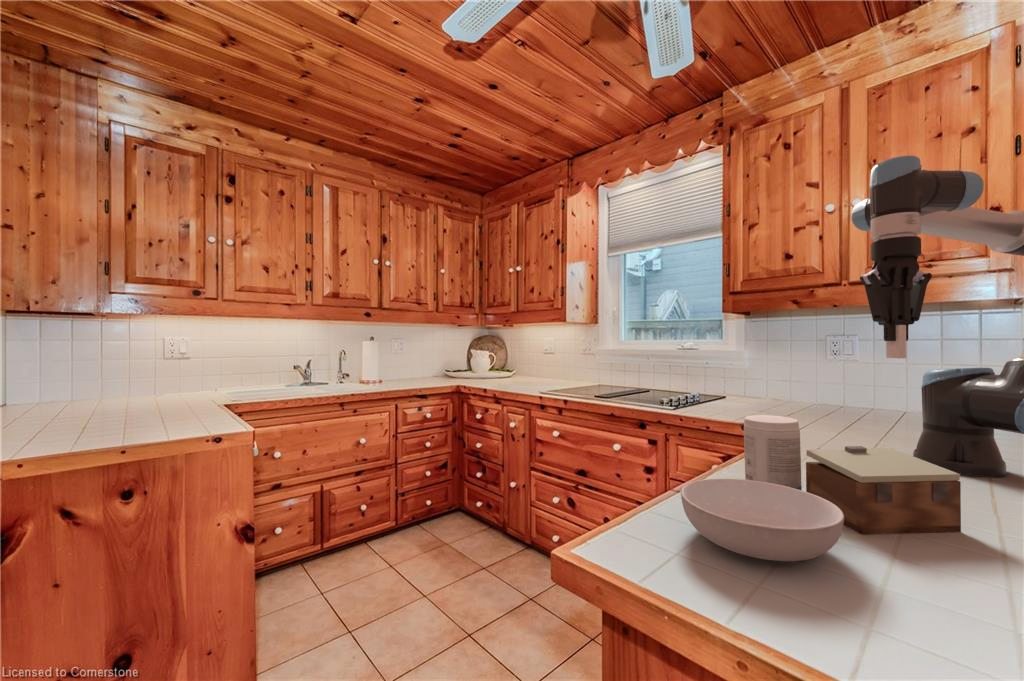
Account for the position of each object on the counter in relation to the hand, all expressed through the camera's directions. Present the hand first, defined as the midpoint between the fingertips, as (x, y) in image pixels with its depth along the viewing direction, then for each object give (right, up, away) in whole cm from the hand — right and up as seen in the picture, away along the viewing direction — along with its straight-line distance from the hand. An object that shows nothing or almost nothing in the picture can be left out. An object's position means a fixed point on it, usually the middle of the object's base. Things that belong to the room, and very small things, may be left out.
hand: (896, 357), depth 86 cm
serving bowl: (-40, -27, -22) cm, 53 cm away
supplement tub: (-25, -27, 0) cm, 37 cm away
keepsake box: (-14, -27, -13) cm, 33 cm away
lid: (-14, -18, -13) cm, 26 cm away
